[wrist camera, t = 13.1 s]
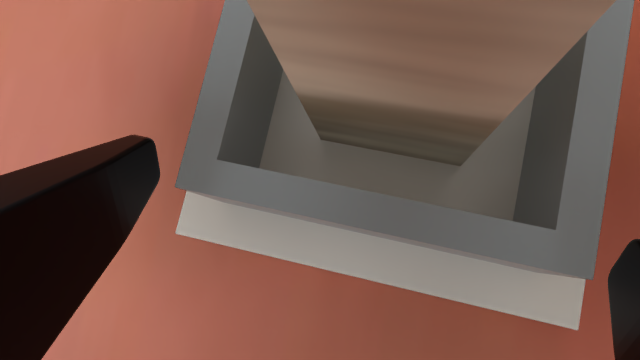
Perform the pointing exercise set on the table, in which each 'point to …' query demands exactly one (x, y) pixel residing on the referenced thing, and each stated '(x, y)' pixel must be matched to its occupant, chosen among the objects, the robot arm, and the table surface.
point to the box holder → (411, 181)
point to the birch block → (419, 65)
